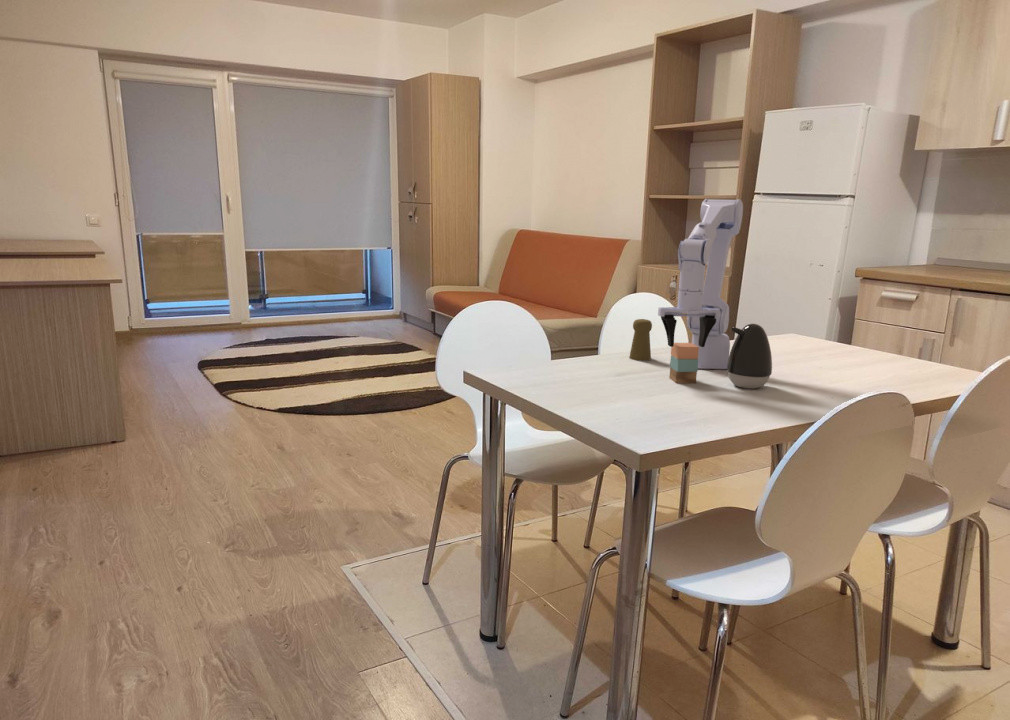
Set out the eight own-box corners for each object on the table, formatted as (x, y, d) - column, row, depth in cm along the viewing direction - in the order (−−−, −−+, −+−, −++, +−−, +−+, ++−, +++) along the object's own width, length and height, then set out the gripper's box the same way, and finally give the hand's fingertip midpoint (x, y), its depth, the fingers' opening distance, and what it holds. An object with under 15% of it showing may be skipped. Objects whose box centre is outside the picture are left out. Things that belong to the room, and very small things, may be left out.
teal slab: (689, 366, 172) (690, 355, 171) (697, 371, 167) (698, 359, 166) (670, 367, 171) (670, 355, 171) (677, 371, 166) (678, 359, 166)
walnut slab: (689, 378, 173) (690, 366, 172) (695, 383, 168) (696, 371, 167) (669, 378, 172) (670, 366, 172) (675, 383, 167) (676, 371, 167)
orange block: (690, 354, 172) (691, 342, 171) (697, 359, 167) (698, 346, 166) (670, 354, 171) (671, 342, 171) (677, 359, 166) (678, 346, 166)
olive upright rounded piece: (652, 361, 191) (655, 321, 189) (630, 360, 191) (633, 320, 189) (648, 356, 197) (651, 318, 195) (627, 355, 197) (630, 317, 195)
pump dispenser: (717, 381, 171) (723, 320, 167) (757, 380, 172) (763, 320, 169) (735, 391, 161) (742, 327, 157) (777, 391, 162) (785, 327, 159)
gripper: (666, 291, 161) (661, 349, 164) (726, 292, 162) (721, 349, 165) (657, 288, 168) (653, 343, 171) (715, 289, 169) (710, 343, 172)
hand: (686, 346), depth 168 cm, fingers open, 7 cm apart
